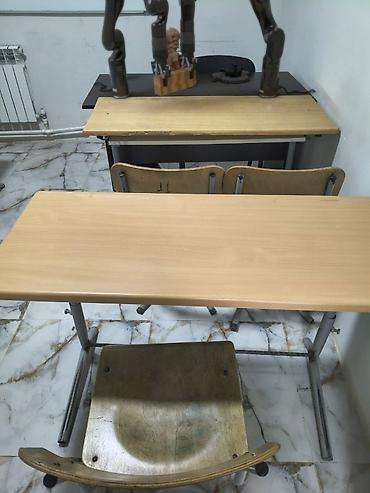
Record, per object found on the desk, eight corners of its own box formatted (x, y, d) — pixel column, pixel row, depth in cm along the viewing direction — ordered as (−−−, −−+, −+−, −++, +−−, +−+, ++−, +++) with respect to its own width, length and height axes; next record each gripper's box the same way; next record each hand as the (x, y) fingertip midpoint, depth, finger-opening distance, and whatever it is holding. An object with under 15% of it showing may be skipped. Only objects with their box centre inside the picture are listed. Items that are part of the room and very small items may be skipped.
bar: (160, 95, 180) (159, 77, 174) (154, 93, 183) (153, 75, 177) (195, 85, 192) (195, 68, 186) (189, 83, 194) (189, 66, 189)
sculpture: (197, 88, 213) (196, 30, 194) (156, 89, 214) (152, 31, 194) (196, 75, 234) (196, 22, 215) (159, 76, 235) (156, 23, 215)
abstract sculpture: (216, 68, 212) (209, 60, 227) (216, 84, 218) (208, 75, 233) (257, 65, 215) (247, 57, 230) (255, 81, 221) (245, 73, 236)
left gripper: (175, 48, 167) (177, 86, 178) (157, 44, 176) (159, 81, 186) (163, 51, 163) (165, 90, 174) (144, 46, 172) (147, 84, 183)
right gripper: (202, 42, 175) (202, 79, 186) (183, 38, 184) (184, 74, 195) (191, 44, 172) (191, 82, 183) (172, 40, 180) (174, 76, 191)
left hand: (162, 85), depth 180 cm, fingers closed on bar, 5 cm apart
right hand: (188, 77), depth 189 cm, fingers closed on bar, 5 cm apart
